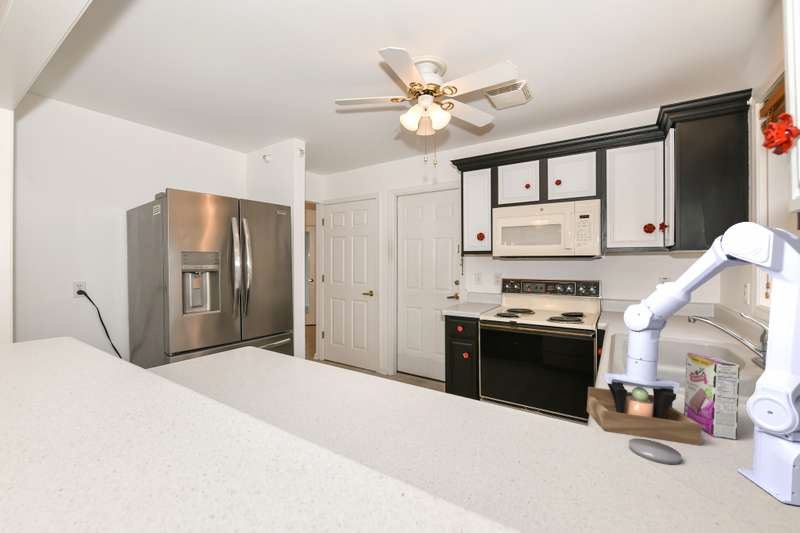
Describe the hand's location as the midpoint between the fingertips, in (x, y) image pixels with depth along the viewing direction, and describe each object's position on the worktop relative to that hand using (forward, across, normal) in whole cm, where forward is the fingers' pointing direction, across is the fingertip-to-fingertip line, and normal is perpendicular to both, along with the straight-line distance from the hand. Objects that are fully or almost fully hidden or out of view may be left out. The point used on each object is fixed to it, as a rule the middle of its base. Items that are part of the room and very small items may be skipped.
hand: (638, 419), depth 80 cm
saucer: (+2, +3, +14) cm, 14 cm away
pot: (+2, 0, 0) cm, 2 cm away
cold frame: (+2, 0, 0) cm, 2 cm away
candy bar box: (+2, -17, -6) cm, 18 cm away
